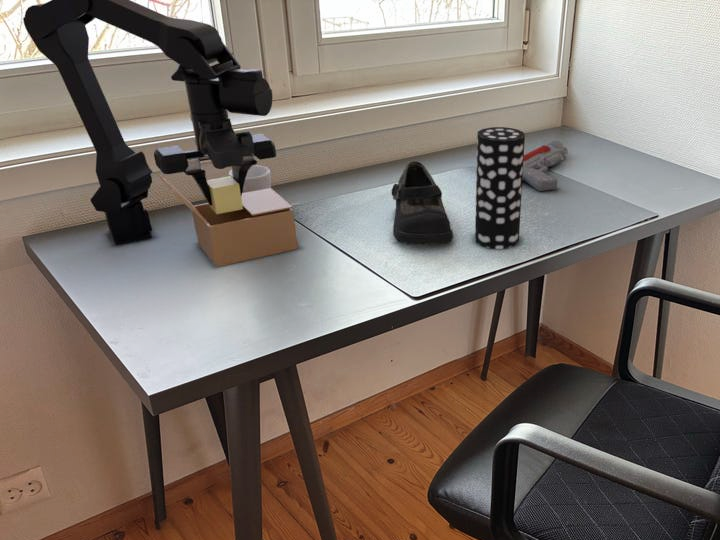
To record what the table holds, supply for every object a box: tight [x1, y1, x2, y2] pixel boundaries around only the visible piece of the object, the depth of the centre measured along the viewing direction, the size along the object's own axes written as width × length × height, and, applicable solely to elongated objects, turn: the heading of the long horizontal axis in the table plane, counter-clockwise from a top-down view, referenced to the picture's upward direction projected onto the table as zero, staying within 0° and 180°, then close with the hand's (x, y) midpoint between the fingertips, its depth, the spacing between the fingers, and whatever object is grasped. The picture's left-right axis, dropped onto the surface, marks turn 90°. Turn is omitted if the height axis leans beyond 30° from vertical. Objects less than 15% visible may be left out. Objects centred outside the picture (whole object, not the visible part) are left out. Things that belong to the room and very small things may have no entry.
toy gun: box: [522, 140, 569, 192], centre depth 171 cm, size 4×27×15 cm
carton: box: [191, 187, 299, 268], centre depth 131 cm, size 15×11×8 cm
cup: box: [227, 164, 272, 193], centre depth 145 cm, size 11×8×8 cm
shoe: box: [391, 161, 454, 245], centre depth 140 cm, size 11×24×10 cm, turn 11°
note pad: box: [206, 176, 243, 214], centre depth 127 cm, size 5×5×5 cm
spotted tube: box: [474, 126, 526, 250], centre depth 133 cm, size 8×8×20 cm
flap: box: [157, 173, 208, 224], centre depth 123 cm, size 7×11×1 cm
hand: (224, 202), depth 127 cm, fingers closed on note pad, 4 cm apart
